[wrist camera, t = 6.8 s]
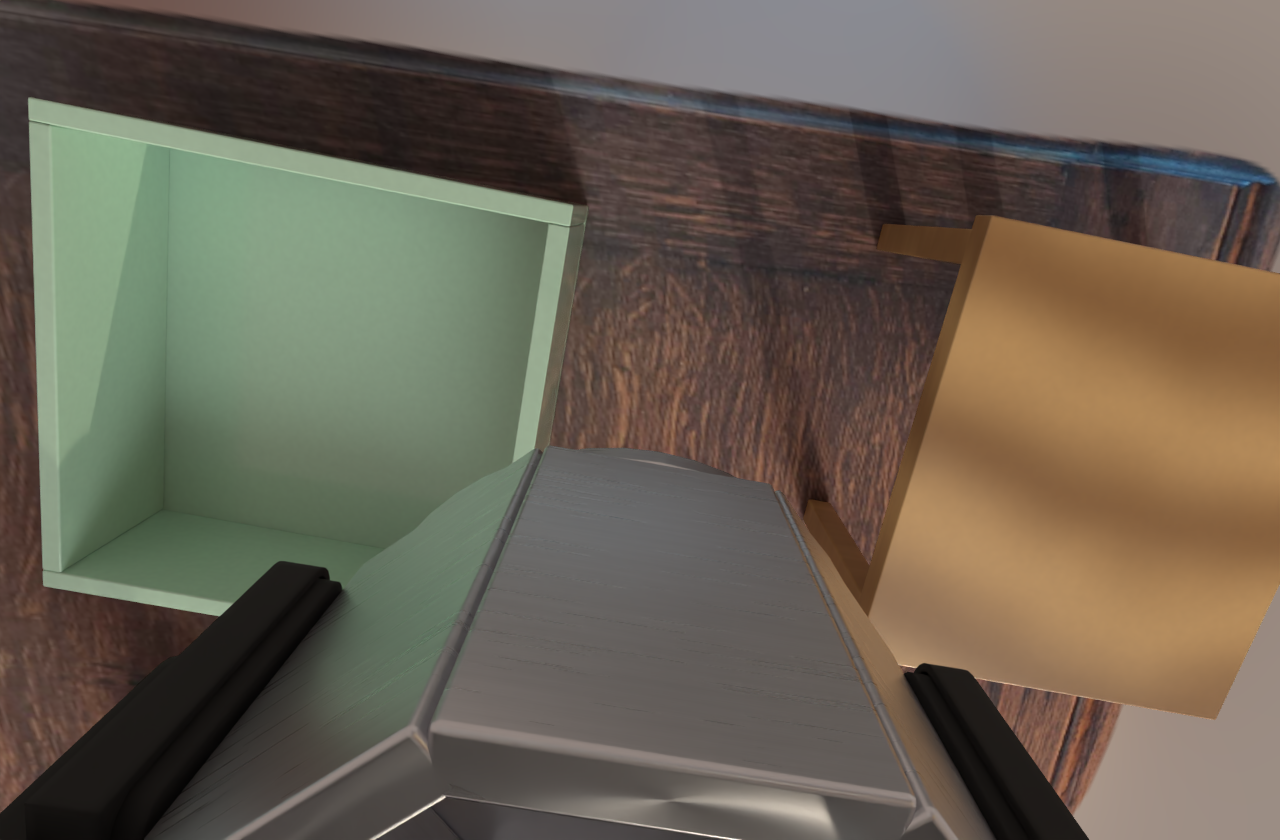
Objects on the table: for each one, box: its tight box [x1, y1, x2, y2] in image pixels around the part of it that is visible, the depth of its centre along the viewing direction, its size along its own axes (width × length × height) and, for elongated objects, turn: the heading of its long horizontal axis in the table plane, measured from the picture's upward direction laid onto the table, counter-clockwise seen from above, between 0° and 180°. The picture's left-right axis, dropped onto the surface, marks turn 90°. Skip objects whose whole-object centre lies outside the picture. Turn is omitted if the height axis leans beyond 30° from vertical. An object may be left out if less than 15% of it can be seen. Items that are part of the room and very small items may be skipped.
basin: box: [28, 97, 589, 616], centre depth 33 cm, size 20×20×8 cm
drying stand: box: [803, 215, 1280, 720], centre depth 31 cm, size 16×14×12 cm
